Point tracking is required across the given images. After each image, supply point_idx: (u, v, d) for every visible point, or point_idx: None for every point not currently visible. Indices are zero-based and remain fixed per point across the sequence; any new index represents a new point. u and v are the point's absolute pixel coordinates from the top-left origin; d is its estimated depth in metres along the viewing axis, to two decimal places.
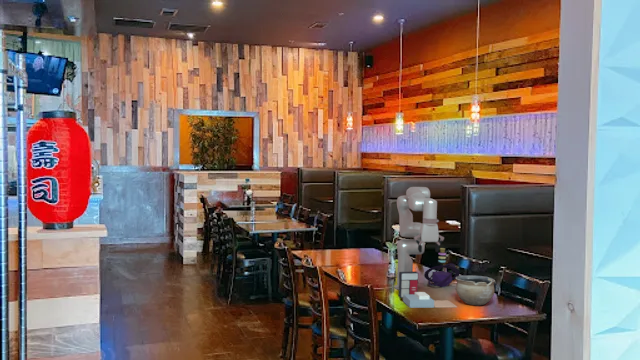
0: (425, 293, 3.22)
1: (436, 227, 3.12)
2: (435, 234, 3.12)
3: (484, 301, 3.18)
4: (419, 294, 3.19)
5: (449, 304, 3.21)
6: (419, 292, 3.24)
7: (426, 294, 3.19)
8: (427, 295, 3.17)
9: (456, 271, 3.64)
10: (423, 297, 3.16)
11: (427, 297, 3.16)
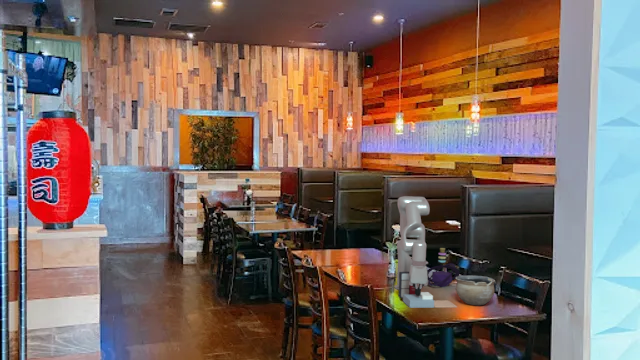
0: (429, 293, 3.22)
1: (425, 269, 3.18)
2: (424, 276, 3.18)
3: (484, 301, 3.18)
4: (422, 294, 3.19)
5: (449, 304, 3.21)
6: (423, 292, 3.24)
7: (429, 294, 3.20)
8: (430, 295, 3.17)
9: (456, 271, 3.64)
10: (426, 297, 3.16)
11: (430, 297, 3.16)
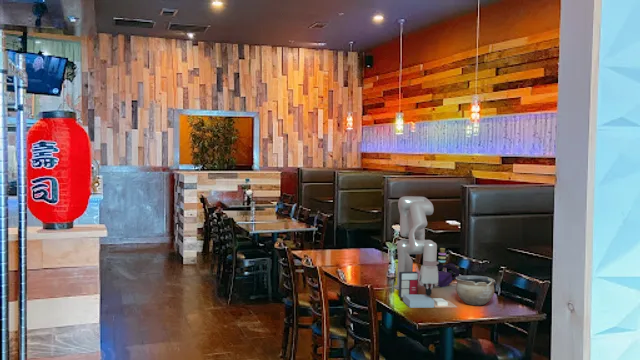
0: (435, 303, 3.23)
1: (436, 269, 3.19)
2: (435, 276, 3.19)
3: (484, 301, 3.18)
4: None
5: (449, 304, 3.21)
6: None
7: None
8: None
9: (456, 271, 3.64)
10: (443, 304, 3.17)
11: (439, 304, 3.17)
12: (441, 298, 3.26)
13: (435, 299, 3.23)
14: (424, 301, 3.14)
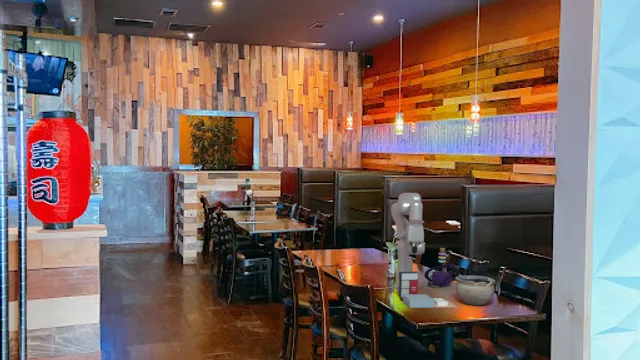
0: (435, 303, 3.23)
1: (421, 228, 3.31)
2: (420, 234, 3.31)
3: (484, 301, 3.18)
4: None
5: (449, 304, 3.21)
6: None
7: None
8: None
9: (456, 271, 3.64)
10: (443, 304, 3.17)
11: (439, 304, 3.17)
12: (441, 298, 3.26)
13: (435, 299, 3.23)
14: (424, 301, 3.14)
